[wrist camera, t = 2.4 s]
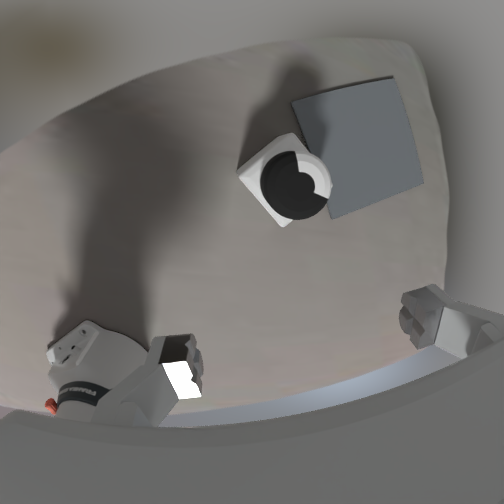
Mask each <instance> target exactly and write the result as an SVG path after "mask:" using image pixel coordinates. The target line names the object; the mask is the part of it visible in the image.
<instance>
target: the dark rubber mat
mask: <svg viewBox="0 0 504 504" xmlns="http://www.w3.org/2000/svg"><path fill="white" fill-rule="evenodd" d="M291 105H292V107H293V110H294V112H295V115H296V117H297V120H298V123H299V125H300V128H301V130H302V133H303V136H304V138H305V141H306V144H307V147H308V149H309V152H310V153H311V154H313V155H315V156H316V157H318V158H319V159H320V160H321V161H322V162H323V163H324V164H325V166H326V167H327V169H328V171H329V173H330V177H331V182H332V184H333V187H332V188H331V193H330V196H329V199H328V201H327V207H328V210H329V213H330V217H331V219H332V220H333V219H335V218H338V217H340V216H343V215H345V214H348V213H350V212H353V211H355V210H358V209H360V208H363V207H365V206H368V205H370V204H373V203H376V202H378V201H381V200H383V199H386V198H388V197H391V196H393V195H396V194H398V193H401V192H403V191H406V190H408V189H411V188H413V187H416V186H418V185H421V184H423V183H424V182H423V177H422V172H421V167H420V163H419V158H418V154H417V150H416V146H415V142H414V138H413V135H412V131H411V127H410V124H409V121H408V117H407V114H406V111H405V108H404V105H403V102H402V99H401V96H400V93H399V90H398V87H397V85H396V82H395V79H394V78H392V79H386V80H381V81H375V82H370V83H365V84H360V85H355V86H351V87H346V88H342V89H337V90H333V91H329V92H325V93H321V94H318V95H314V96H310V97H307V98H303V99H300V100H296V101H293V102H291Z"/></svg>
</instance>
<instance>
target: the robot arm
mask: <svg viewBox="0 0 504 504" xmlns="http://www.w3.org/2000/svg"><path fill="white" fill-rule="evenodd" d="M401 303H402V304H403V307H402V309H401V310H400V313H399V322H400V326H401V328H402V330H403V331H404V333H406V334H409V335H410V341H411V342H412V343H413V344H414V346H415V347H416V348H417V350H418V349H421V348H424V347H427V346H430V345H432V344H434V345H436V346H437V347H439V348H441V349H443V350H445V351H447V352H449V353H450V354H452V355H454V356H456V357H458V358H460V359H461V360H460V361H458V362H456V363H453V364H451V365H449V366H447V367H445V368H443V369H440V370H438V371H436V372H433V373H431V374H429V375H426V376H424V377H422V378H419V379H417V380H414V381H411V382H409V383H406V384H404V385H401V386H398V387H395V388H392V389H390V390H387V391H384V392H381V393H378V394H374V395H371V396H368V397H365V398H361V399H358V400H355V401H351V402H347V403H344V404H340V405H336V406H332V407H328V408H324V409H320V410H315V411H311V412H306V413H301V414H296V415H291V416H285V417H280V418H274V419H267V420H260V421H254V422H245V423H236V424H226V425H214V426H196V427H158V426H159V425H160V423H161V422H162V421H163V420H164V418H165V417H166V416H167V415H168V413H169V412H170V411H171V409H172V408H173V407H174V406H175V404H176V403H177V402H178V401H179V398H189V397H199V396H201V392H202V381H201V379H200V377H201V376H202V375H203V360H202V356H201V353H200V351H199V350H198V349H196V343H197V341H196V339H195V336H194V335H193V334H181V335H169V336H159V337H154V338H153V340H152V343H151V346H150V349H149V352H147V351H146V350H145V349H144V348H143V347H142V346H140V345H139V344H138V343H137V342H135V341H134V340H132V339H130V338H129V337H127V336H125V335H122V334H120V333H117V332H113V331H109V330H105V329H103V328H101V327H100V326H98V325H97V324H95V323H93V322H91V321H88V320H86V321H84V322H82V323H81V324H80V325H78V326H77V327H76V328H75V329H73V330H72V331H71V332H69V333H68V334H67V335H65V336H64V337H63V338H61V339H60V340H59V341H58V342H56V343H55V344H54V345H52V346H51V347H50V348H49V349H48V350H47V352H46V354H47V358H48V360H49V363H50V365H51V366H52V367H51V369H50V371H49V374H48V377H49V381H50V383H51V385H52V387H53V388H54V390H55V391H56V393H57V394H58V401H57V403H56V402H55V401H54V399H53V398H50V399H48V400H47V401H46V403H45V407H46V408H47V409H48V410H50V411H51V413H52V414H55V416H54V417H51V416H46V415H41V414H37V413H32V412H29V411H24V410H14V411H12V412H10V413H8V414H7V415H6V416H4V417H3V418H2V419H0V504H504V316H503V314H499V313H496V312H492V311H489V310H486V309H483V308H479V307H476V306H473V305H469V304H466V303H462V302H459V301H458V302H455V301H454V300H453V299H451V297H449V296H448V295H447V294H446V293H445V292H444V291H443V290H441V289H440V288H439V287H438V286H437V285H435V284H431V285H428V286H424V287H423V288H419V289H416V290H412V291H409V292H405V293H403V295H402V298H401ZM84 330H85V331H86V332H85V331H84Z"/></svg>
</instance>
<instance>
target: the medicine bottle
mask: <svg viewBox="0 0 504 504" xmlns="http://www.w3.org/2000/svg"><path fill="white" fill-rule="evenodd" d="M236 173H237V175H238V177H239V179H240V180H241V181H242V182H243V183H244V184H245V186H246V187H247V188H248V189H249V190H250V191H251V192H252V194H253V195H254V196H255V197H256V198H257V199H258V200H259V202H260V203H261V204H262V205H263V206H264V207H265V209H266V210H267V211H268V212H269V213H270V214H271V216H272V217H273V218H274V219H275V220H276V222H277V223H278V224H279V225H280V226H281V227H285V226H286V225H287V224H288V223H290V222H291V221H292V220H301V219H306V218H309V217H311V216H314V215H315V214H317V213H318V212H319V211H320V210H321V209H322V208H323V207H324V206H325V204H326V203H327V201H328V199H329V196H330V193H331V188H332V187H333V184H332V182H331V177H330V173H329V171H328V169H327V167H326V166H325V164H324V163H323V162H322V161H321V160H320V159H319V158H318V157H316V156H315V155H313V154H311V153H309V151H308V150H307V149H306V148H305V146H304V145H303V144H302V143H301V141H300V140H299V139H298V138H297V136H296V135H295V134H294V133H288V134H284V135H281V136H278V137H277V138H275V139H274V140H273V141H272V142H270V143H269V144H268V145H267V146H265V147H264V148H263V149H262V150H260V151H259V152H258V153H257V154H256V155H254V156H253V157H252V158H251V159H250V160H248V161H247V162H246V163H245V164H244V165H242V166H241V167H240V168H239V169H238V170H237V171H236Z"/></svg>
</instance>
